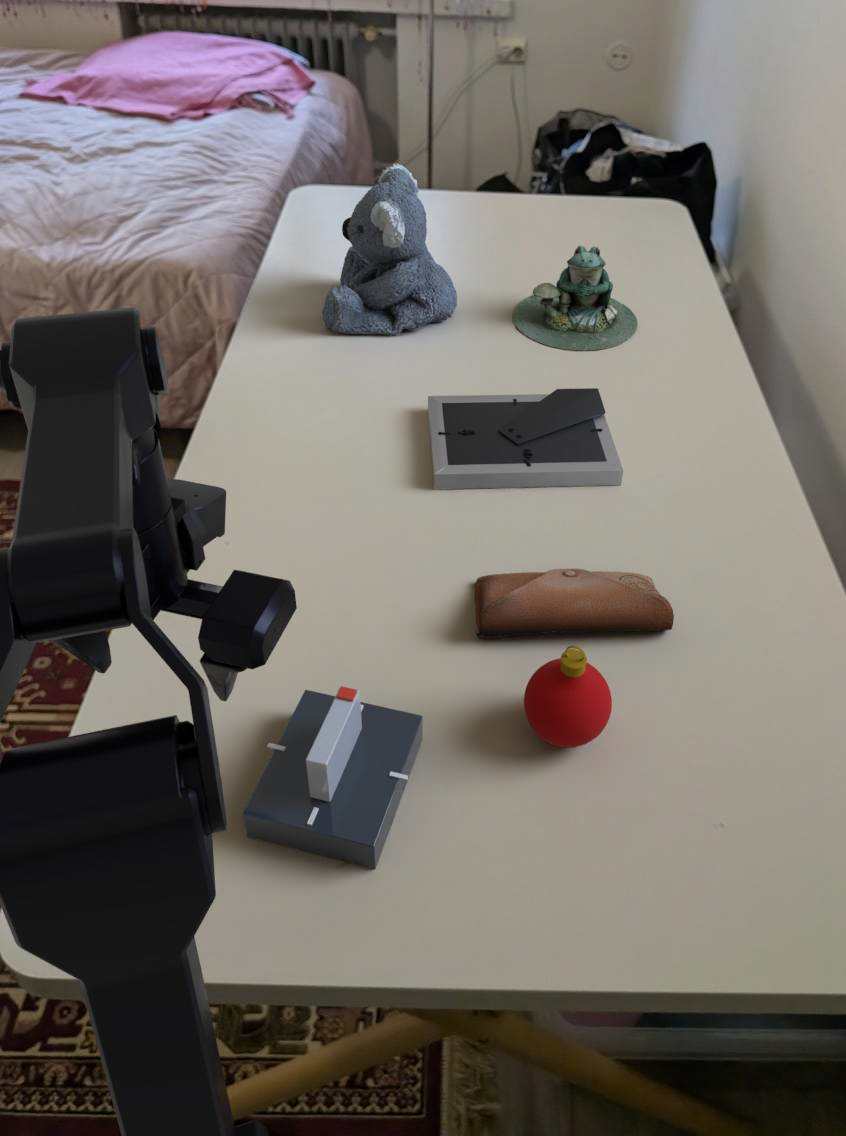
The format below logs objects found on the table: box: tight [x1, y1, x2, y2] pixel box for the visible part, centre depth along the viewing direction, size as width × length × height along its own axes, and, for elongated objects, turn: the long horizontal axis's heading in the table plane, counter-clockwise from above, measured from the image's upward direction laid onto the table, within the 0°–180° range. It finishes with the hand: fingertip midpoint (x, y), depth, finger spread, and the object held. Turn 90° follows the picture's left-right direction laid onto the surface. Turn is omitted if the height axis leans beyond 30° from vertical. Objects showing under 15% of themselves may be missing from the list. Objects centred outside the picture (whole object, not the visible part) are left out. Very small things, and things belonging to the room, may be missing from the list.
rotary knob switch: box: [242, 689, 424, 870], centre depth 74 cm, size 12×11×3 cm
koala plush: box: [321, 162, 458, 337], centre depth 130 cm, size 17×18×20 cm
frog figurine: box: [512, 245, 638, 352], centre depth 133 cm, size 18×18×12 cm
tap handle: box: [306, 686, 362, 802], centre depth 71 cm, size 7×2×5 cm, turn 166°
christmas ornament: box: [523, 644, 613, 748], centre depth 76 cm, size 7×7×10 cm
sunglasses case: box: [474, 568, 675, 638], centre depth 89 cm, size 18×7×7 cm
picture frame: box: [427, 387, 624, 490], centre depth 111 cm, size 16×3×21 cm
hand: (165, 682), depth 67 cm, fingers open, 9 cm apart
